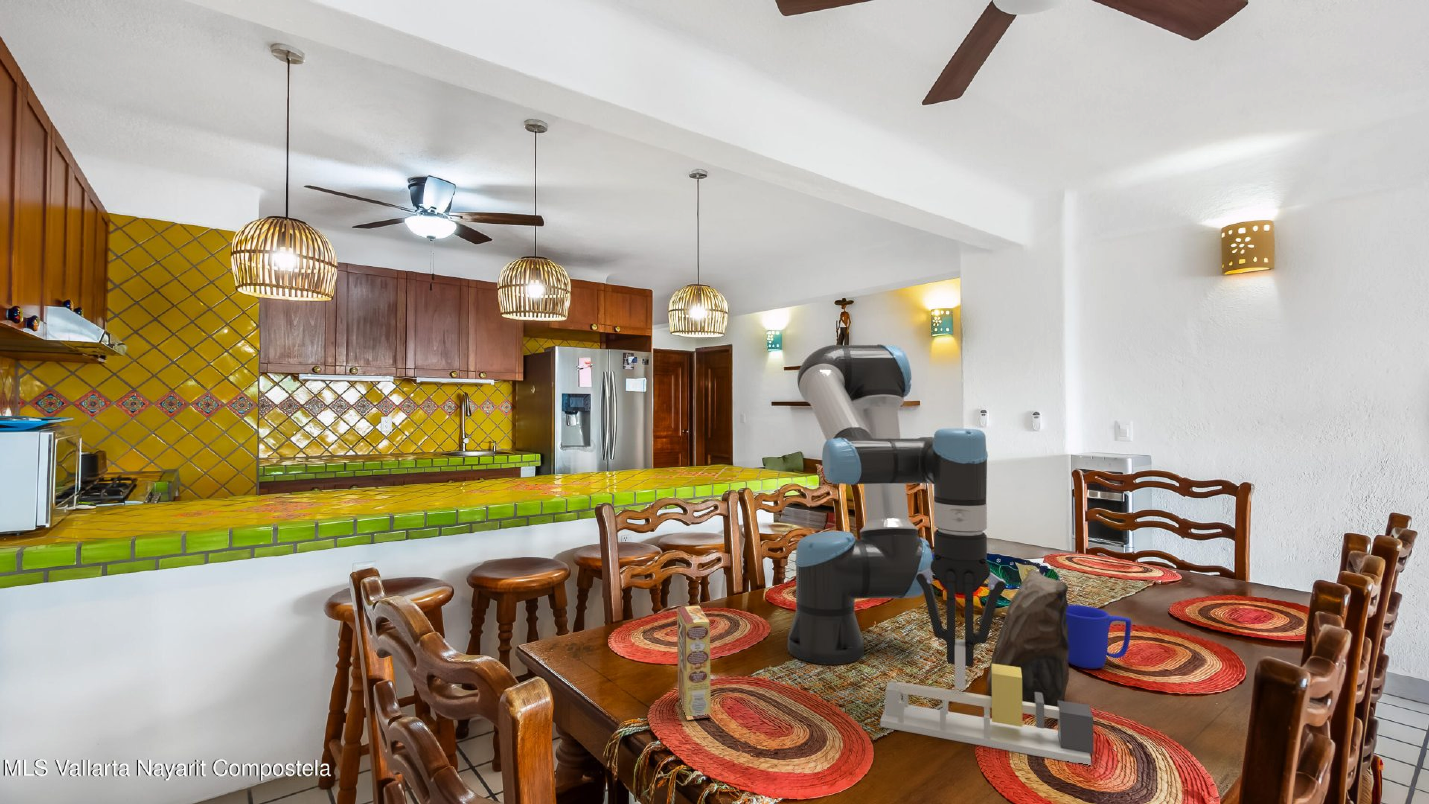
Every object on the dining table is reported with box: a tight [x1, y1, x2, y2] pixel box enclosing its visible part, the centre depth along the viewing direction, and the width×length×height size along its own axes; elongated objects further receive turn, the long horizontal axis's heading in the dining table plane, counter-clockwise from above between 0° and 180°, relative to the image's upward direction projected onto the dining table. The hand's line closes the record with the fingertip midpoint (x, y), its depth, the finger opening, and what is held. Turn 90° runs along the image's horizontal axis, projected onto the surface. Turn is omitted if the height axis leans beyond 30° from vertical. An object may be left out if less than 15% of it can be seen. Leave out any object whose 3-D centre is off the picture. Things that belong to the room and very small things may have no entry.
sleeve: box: [991, 664, 1023, 727], centre depth 94 cm, size 4×4×7 cm
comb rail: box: [879, 681, 1094, 766], centre depth 96 cm, size 28×7×7 cm, turn 67°
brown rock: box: [986, 569, 1070, 707], centre depth 109 cm, size 13×13×20 cm
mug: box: [1066, 604, 1132, 670], centre depth 122 cm, size 8×12×10 cm
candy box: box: [676, 605, 712, 716], centre depth 104 cm, size 9×4×15 cm, turn 13°
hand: (960, 685), depth 97 cm, fingers closed
